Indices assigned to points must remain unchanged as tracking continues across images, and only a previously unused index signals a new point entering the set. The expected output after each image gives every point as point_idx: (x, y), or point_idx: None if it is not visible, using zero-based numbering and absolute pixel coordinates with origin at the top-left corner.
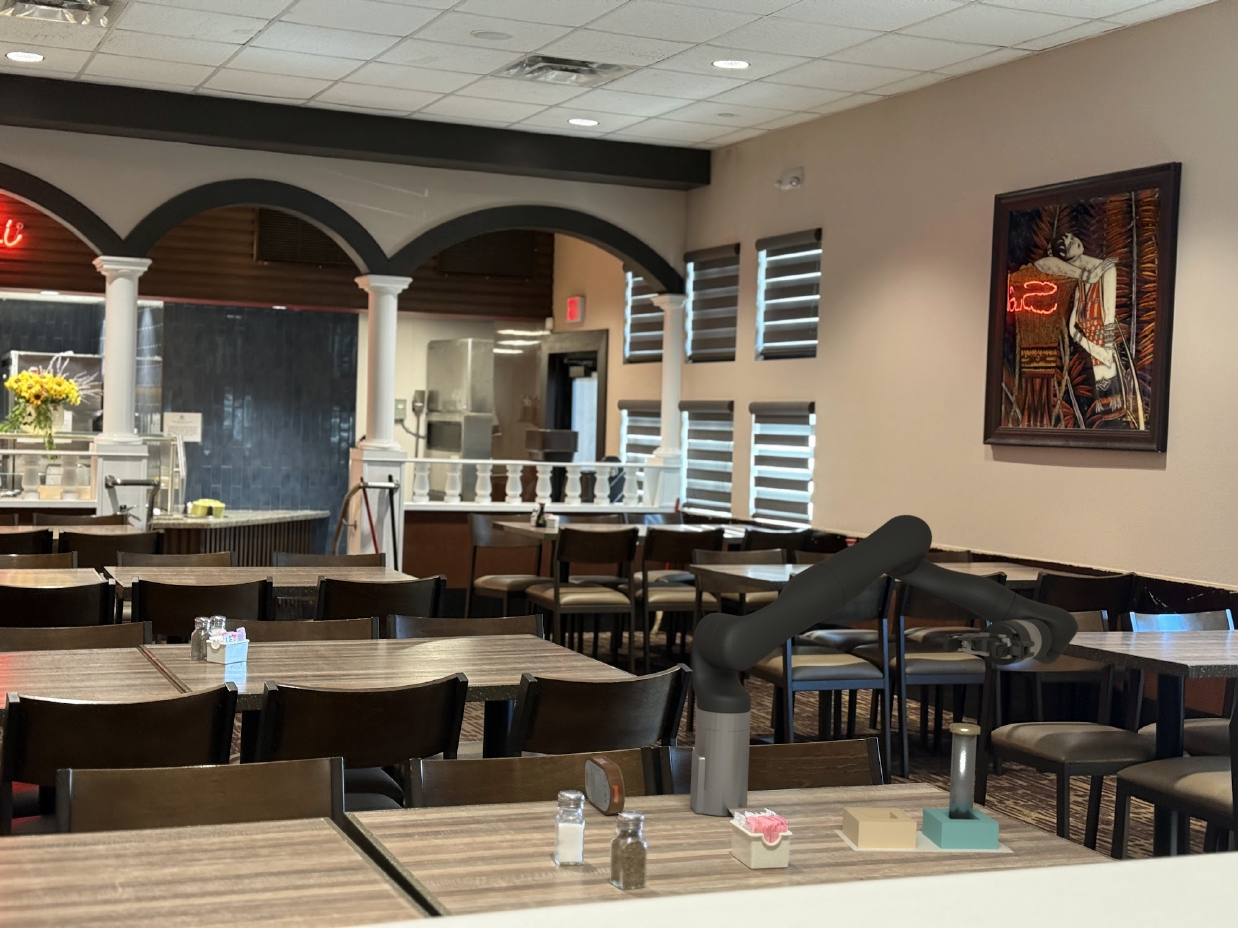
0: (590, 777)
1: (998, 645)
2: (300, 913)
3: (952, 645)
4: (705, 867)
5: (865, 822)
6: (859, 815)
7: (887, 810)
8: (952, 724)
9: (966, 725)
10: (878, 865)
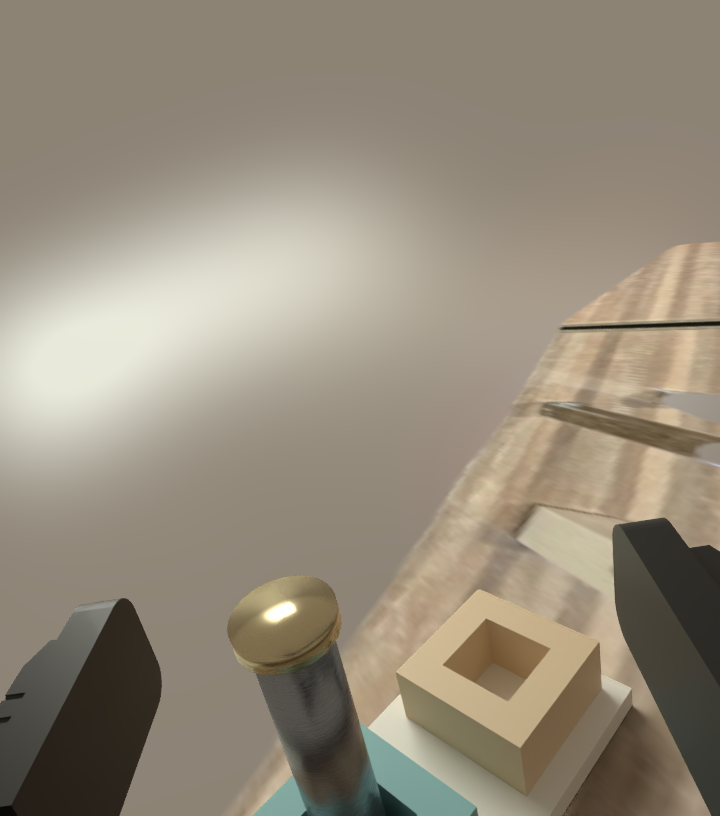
0: None
1: (65, 636)
2: (612, 296)
3: (654, 645)
4: (574, 473)
5: (470, 598)
6: (515, 619)
7: (515, 701)
8: (325, 595)
9: (281, 622)
10: None
